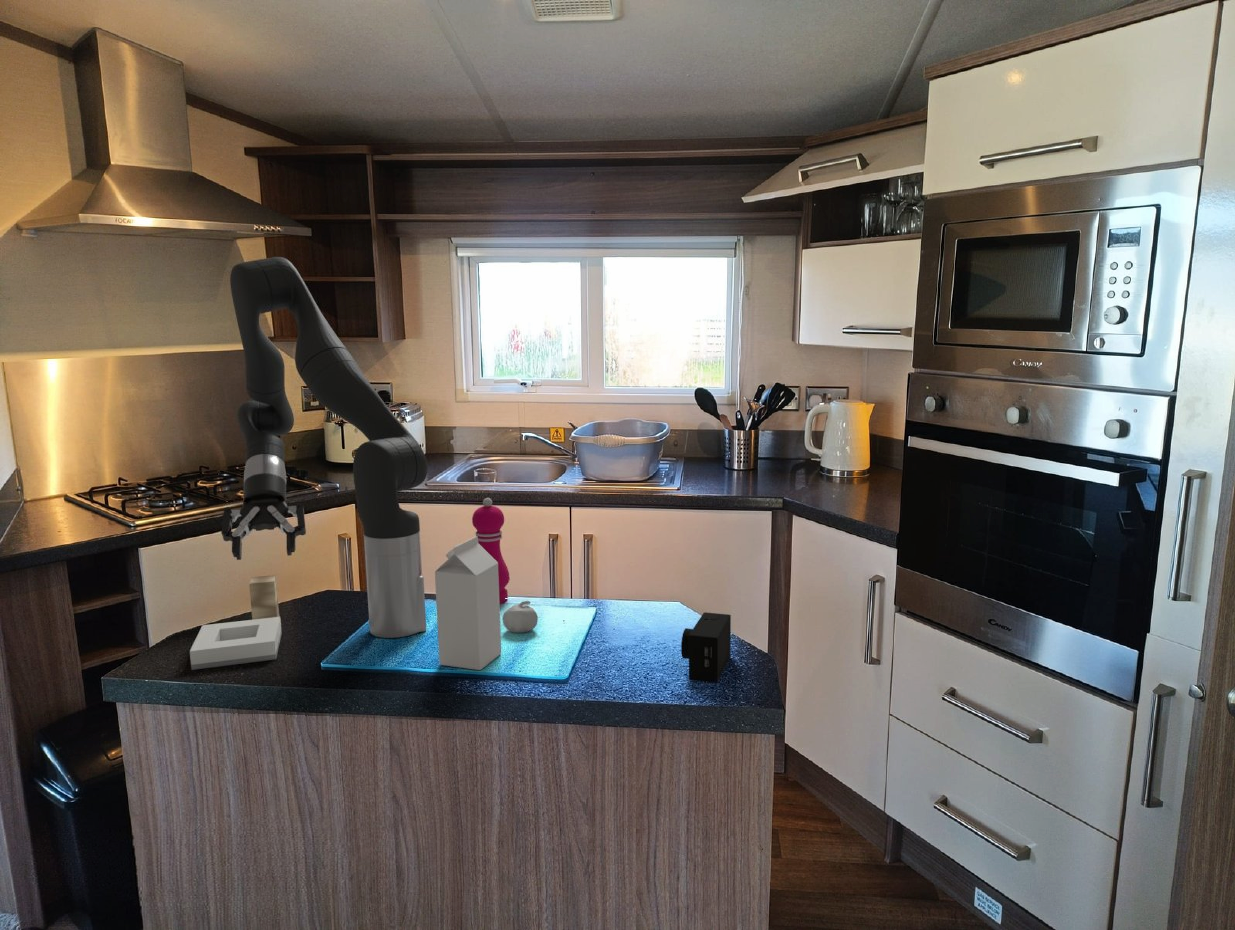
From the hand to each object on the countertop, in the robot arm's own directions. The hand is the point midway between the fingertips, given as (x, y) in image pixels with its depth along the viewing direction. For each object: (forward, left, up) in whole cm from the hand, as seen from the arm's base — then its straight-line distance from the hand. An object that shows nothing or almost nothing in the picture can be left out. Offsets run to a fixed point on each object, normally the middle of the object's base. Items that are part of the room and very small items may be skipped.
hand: (264, 555), depth 147 cm
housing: (+3, +18, -11) cm, 21 cm away
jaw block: (0, +5, -11) cm, 12 cm away
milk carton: (-32, +35, -11) cm, 49 cm away
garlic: (-42, +25, -11) cm, 50 cm away
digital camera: (-65, +50, -11) cm, 83 cm away
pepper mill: (-40, +7, -11) cm, 42 cm away
